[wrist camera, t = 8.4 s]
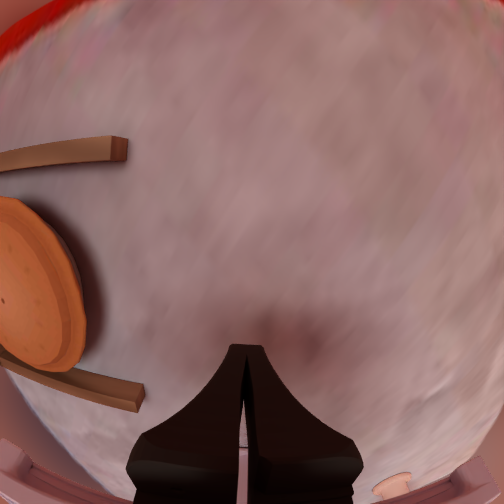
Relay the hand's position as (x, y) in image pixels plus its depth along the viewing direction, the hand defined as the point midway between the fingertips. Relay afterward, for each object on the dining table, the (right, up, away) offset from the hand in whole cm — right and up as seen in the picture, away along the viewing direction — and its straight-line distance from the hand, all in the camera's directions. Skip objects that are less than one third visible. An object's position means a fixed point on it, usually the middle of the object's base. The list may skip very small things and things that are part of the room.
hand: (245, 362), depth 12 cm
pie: (-19, +2, +8) cm, 21 cm away
